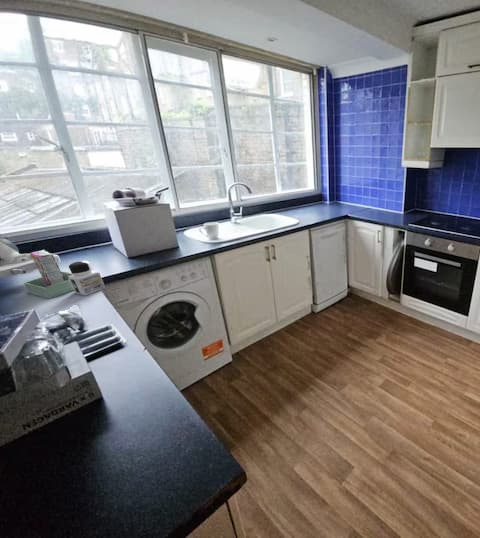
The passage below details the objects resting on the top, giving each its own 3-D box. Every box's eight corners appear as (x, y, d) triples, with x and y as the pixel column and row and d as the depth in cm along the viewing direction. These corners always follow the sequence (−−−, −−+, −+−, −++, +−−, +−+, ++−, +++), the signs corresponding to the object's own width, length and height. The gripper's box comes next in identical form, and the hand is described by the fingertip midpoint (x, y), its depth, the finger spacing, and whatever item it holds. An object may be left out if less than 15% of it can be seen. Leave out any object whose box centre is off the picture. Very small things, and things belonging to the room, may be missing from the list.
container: (85, 295, 122) (72, 267, 117) (74, 293, 125) (61, 264, 120) (106, 287, 129) (94, 260, 124) (95, 285, 131) (83, 258, 126)
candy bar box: (46, 287, 130) (28, 252, 123) (61, 283, 134) (44, 249, 127) (54, 293, 124) (36, 257, 118) (69, 288, 128) (53, 253, 122)
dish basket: (49, 298, 121) (44, 288, 119) (28, 292, 126) (23, 282, 124) (86, 285, 132) (82, 275, 130) (66, 280, 138) (61, 271, 136)
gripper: (-16, 266, 123) (0, 269, 118) (47, 250, 140) (63, 253, 136) (-8, 279, 126) (8, 283, 121) (52, 262, 143) (69, 265, 138)
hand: (38, 267), depth 128 cm, fingers open, 8 cm apart
